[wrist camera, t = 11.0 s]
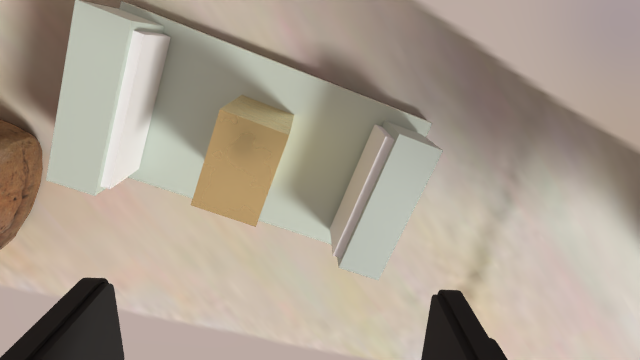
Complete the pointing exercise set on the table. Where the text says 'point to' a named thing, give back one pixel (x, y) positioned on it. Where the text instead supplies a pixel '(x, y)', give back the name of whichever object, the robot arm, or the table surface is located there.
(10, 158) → the block
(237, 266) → the table surface
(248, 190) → the tan rectangular workpiece
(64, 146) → the vise body
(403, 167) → the sliding jaw
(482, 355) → the robot arm
